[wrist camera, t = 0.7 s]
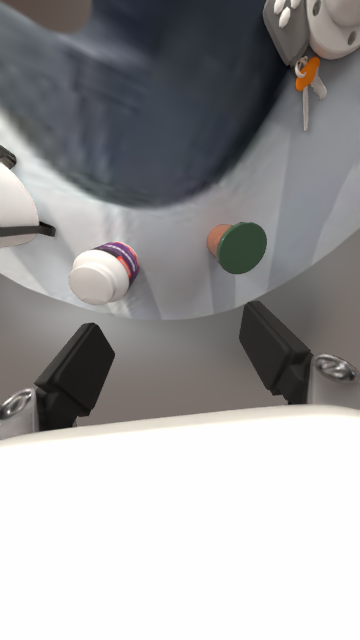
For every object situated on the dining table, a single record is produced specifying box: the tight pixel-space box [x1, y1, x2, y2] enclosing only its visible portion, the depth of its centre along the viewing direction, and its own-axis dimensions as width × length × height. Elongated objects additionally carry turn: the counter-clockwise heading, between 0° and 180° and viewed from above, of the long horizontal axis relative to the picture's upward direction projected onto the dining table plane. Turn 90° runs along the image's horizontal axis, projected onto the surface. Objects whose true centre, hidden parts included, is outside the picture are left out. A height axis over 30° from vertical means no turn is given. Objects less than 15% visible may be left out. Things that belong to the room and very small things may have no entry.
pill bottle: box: [69, 242, 140, 305], centre depth 25 cm, size 8×8×14 cm
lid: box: [216, 222, 267, 274], centre depth 22 cm, size 7×7×2 cm
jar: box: [207, 224, 233, 258], centre depth 25 cm, size 6×6×10 cm
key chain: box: [263, 0, 327, 131], centre depth 18 cm, size 13×4×2 cm, turn 51°
